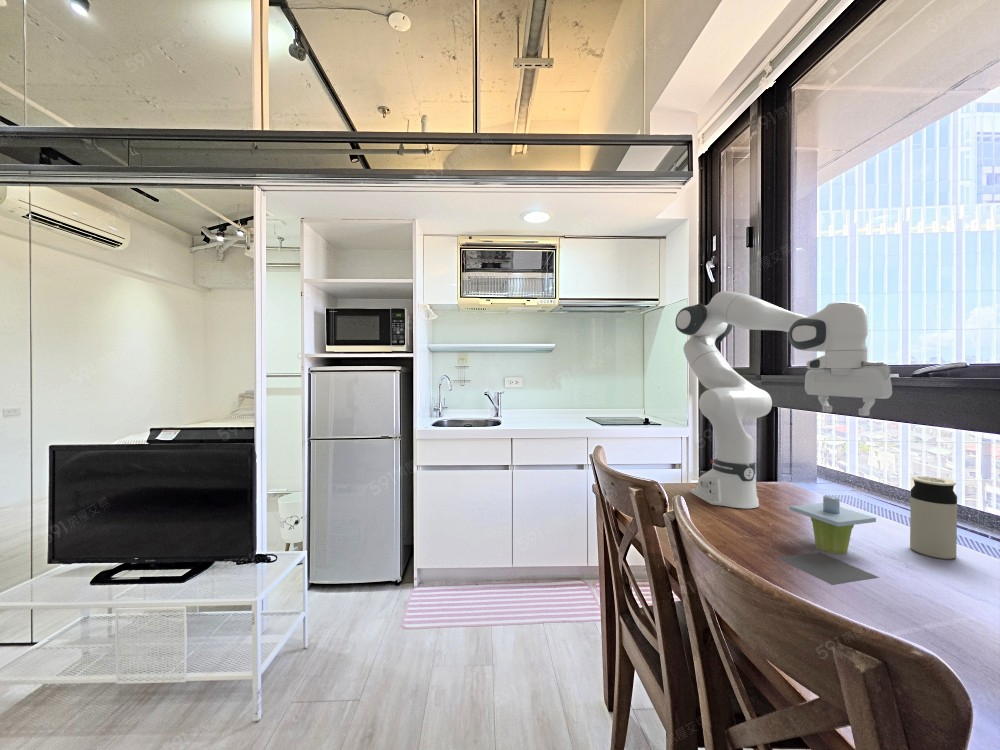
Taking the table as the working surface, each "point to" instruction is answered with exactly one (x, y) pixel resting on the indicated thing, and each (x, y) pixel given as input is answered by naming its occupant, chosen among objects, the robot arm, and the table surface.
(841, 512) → the lid
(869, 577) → the mat
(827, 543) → the plant pot
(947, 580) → the table surface
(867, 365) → the robot arm
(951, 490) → the travel mug
